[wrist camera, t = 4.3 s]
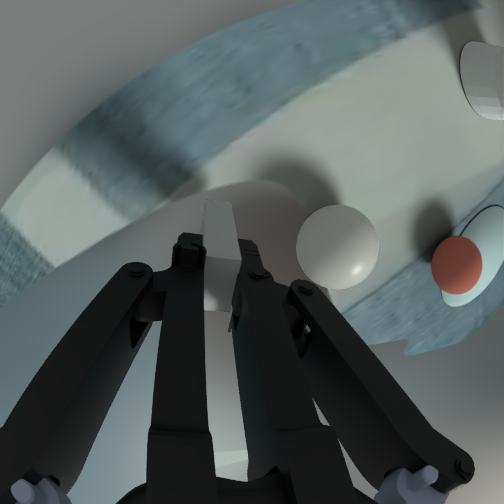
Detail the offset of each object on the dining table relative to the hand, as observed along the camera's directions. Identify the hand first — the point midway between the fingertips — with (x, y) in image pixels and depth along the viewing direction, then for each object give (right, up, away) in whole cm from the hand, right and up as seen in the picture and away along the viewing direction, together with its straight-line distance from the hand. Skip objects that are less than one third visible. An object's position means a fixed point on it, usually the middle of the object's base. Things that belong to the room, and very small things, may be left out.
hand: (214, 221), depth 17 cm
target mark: (+30, -3, +8) cm, 31 cm away
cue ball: (+8, -1, +1) cm, 8 cm away
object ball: (+21, -3, +4) cm, 22 cm away
